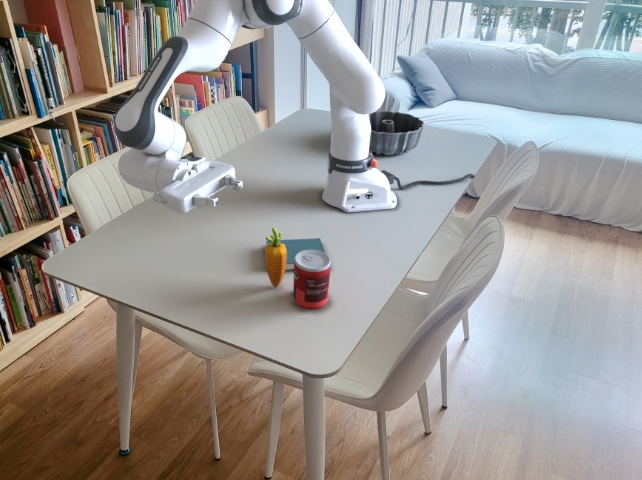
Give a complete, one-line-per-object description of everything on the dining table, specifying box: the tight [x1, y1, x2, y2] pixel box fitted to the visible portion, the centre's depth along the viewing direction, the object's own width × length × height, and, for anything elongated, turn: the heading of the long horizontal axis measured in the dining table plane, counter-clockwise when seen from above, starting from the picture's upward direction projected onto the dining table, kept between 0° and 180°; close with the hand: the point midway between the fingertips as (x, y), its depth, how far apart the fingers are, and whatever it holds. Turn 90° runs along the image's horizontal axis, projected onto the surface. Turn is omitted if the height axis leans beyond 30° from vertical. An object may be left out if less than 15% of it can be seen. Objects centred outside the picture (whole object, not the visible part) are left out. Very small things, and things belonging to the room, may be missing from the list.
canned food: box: [292, 250, 332, 311], centre depth 114 cm, size 8×8×11 cm
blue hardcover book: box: [265, 237, 326, 272], centre depth 130 cm, size 14×11×2 cm
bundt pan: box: [369, 110, 425, 156], centre depth 192 cm, size 26×26×10 cm
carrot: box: [264, 227, 287, 288], centre depth 116 cm, size 5×5×15 cm
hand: (228, 194), depth 114 cm, fingers open, 8 cm apart
